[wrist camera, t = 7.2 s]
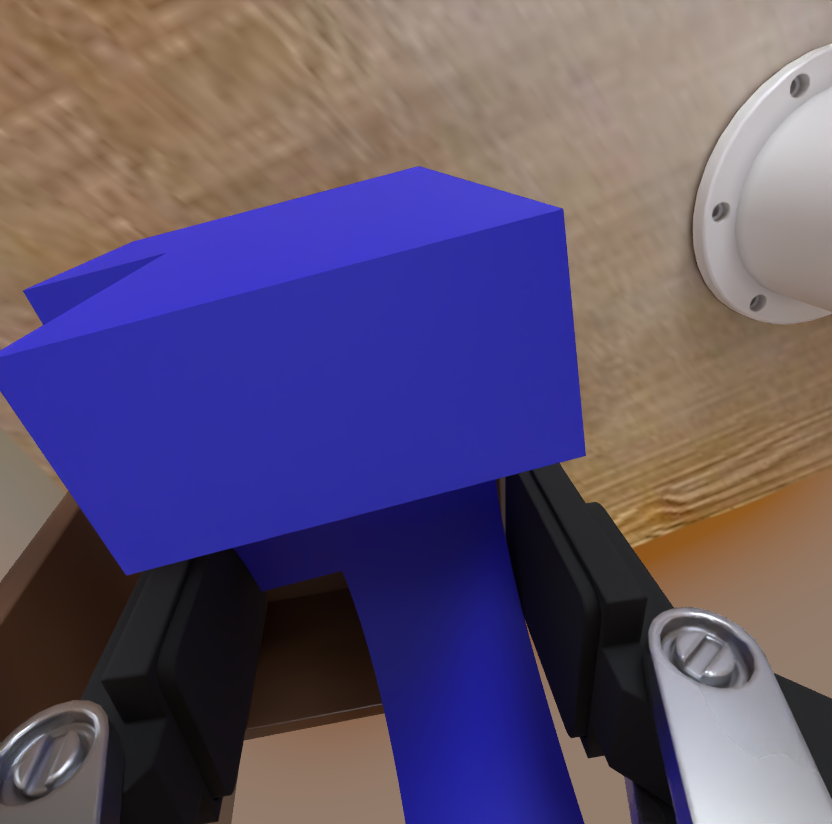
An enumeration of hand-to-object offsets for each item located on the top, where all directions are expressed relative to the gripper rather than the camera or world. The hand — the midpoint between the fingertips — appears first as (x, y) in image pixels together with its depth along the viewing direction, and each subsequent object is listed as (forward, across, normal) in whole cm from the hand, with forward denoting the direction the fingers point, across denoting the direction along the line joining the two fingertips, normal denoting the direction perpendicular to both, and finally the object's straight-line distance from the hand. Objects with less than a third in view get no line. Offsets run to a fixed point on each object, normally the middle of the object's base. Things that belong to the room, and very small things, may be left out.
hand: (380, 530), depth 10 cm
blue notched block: (+1, 0, 0) cm, 1 cm away
